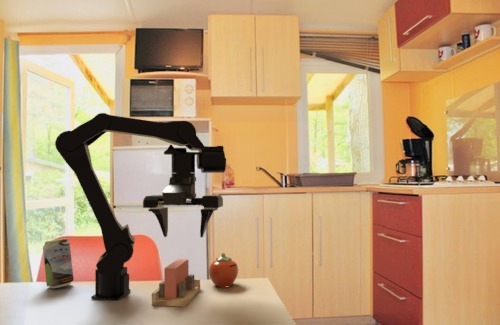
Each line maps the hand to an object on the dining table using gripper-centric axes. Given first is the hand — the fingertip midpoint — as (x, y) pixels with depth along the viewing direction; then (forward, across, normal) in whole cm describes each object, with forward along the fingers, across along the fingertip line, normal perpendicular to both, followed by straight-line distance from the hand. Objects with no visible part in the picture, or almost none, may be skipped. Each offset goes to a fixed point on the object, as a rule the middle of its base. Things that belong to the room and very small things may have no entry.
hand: (183, 236), depth 91 cm
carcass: (+12, 0, -6) cm, 14 cm away
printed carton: (+13, -32, -2) cm, 34 cm away
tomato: (+13, +9, +4) cm, 16 cm away
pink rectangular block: (+12, 0, -6) cm, 13 cm away
